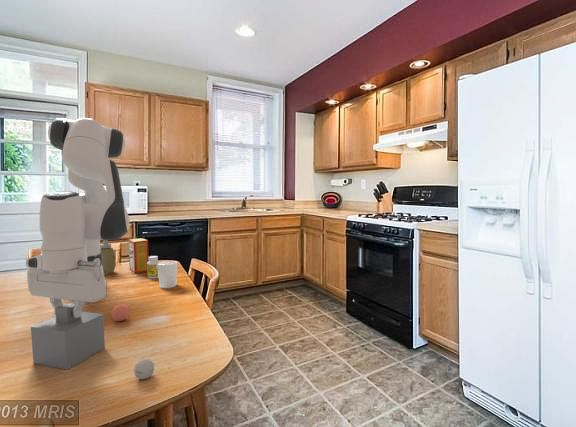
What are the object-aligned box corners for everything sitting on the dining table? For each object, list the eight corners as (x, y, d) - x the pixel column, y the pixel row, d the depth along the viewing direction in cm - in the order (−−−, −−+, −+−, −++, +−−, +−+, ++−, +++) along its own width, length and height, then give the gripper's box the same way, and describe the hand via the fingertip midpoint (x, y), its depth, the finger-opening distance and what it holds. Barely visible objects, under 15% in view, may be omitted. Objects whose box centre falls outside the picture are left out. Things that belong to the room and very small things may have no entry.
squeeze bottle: (102, 276, 147) (100, 238, 145) (93, 273, 151) (91, 237, 150) (119, 272, 153) (118, 236, 152) (110, 270, 158) (109, 235, 156)
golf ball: (133, 385, 65) (133, 366, 64) (134, 374, 68) (134, 357, 68) (154, 380, 66) (154, 362, 66) (154, 370, 70) (154, 353, 69)
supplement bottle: (162, 276, 147) (162, 255, 146) (154, 279, 142) (153, 258, 141) (153, 275, 148) (152, 255, 148) (144, 278, 143) (144, 257, 143)
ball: (107, 322, 95) (107, 306, 95) (120, 316, 100) (119, 301, 99) (121, 324, 94) (120, 308, 93) (133, 318, 98) (133, 302, 98)
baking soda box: (129, 270, 158) (128, 238, 157) (143, 267, 162) (142, 237, 161) (135, 273, 151) (133, 241, 150) (149, 271, 155) (148, 239, 154)
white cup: (171, 289, 127) (170, 265, 126) (154, 288, 128) (153, 264, 128) (181, 283, 135) (180, 261, 134) (165, 282, 136) (164, 260, 135)
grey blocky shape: (33, 363, 73) (29, 311, 72) (73, 342, 83) (71, 297, 82) (67, 369, 70) (64, 316, 69) (104, 347, 80) (102, 300, 79)
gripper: (111, 259, 75) (113, 315, 76) (46, 254, 80) (49, 307, 81) (88, 265, 69) (91, 326, 70) (19, 260, 74) (23, 316, 75)
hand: (68, 315), depth 76 cm, fingers closed on grey blocky shape, 3 cm apart
